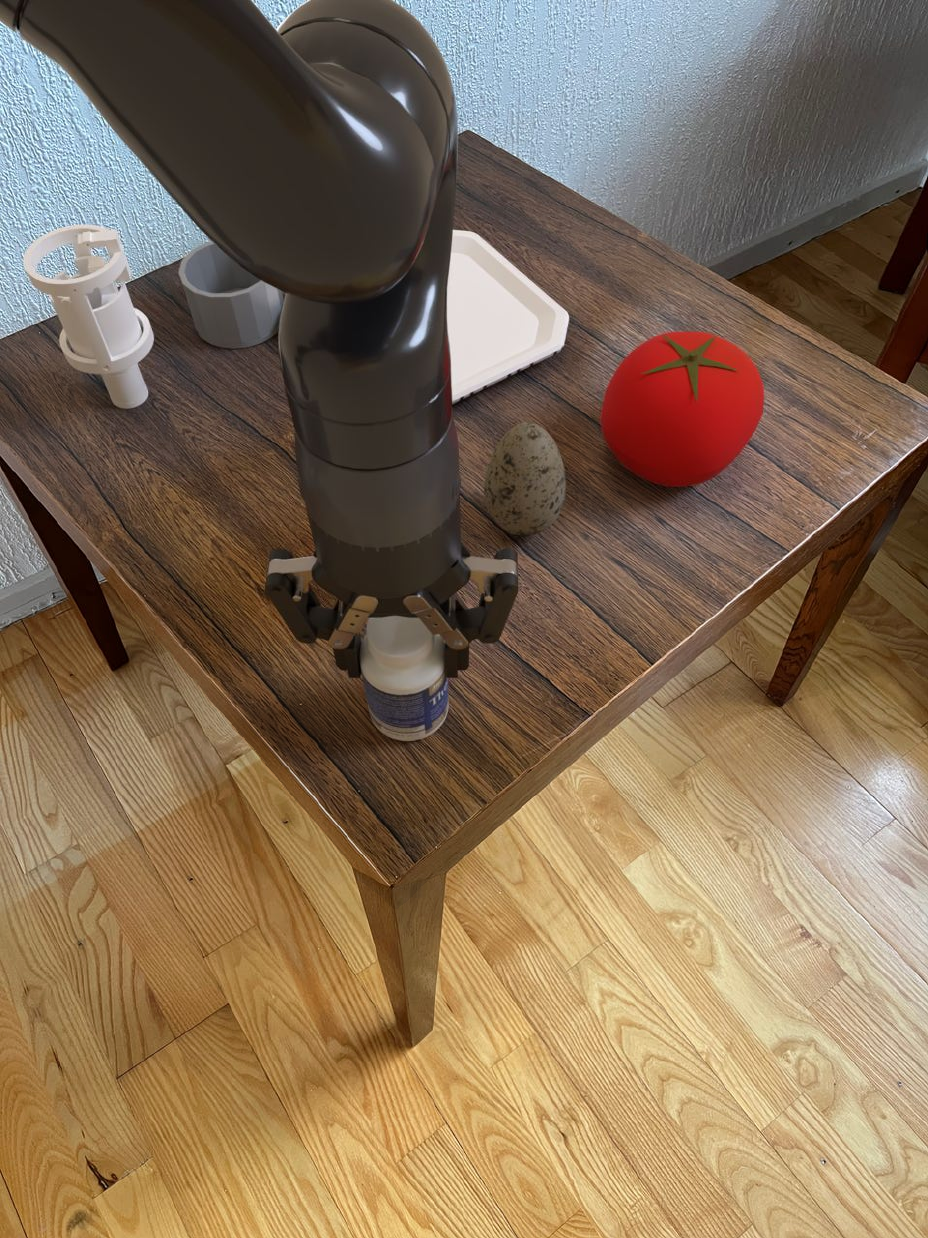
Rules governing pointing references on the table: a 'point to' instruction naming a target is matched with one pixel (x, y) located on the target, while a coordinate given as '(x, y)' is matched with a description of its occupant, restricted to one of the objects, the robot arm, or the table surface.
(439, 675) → the pill bottle
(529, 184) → the table surface
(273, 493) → the table surface
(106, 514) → the table surface
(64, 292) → the white ringed tube holder
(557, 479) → the decorative egg
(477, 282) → the plate
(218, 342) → the grey faceted pot
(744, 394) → the tomato
